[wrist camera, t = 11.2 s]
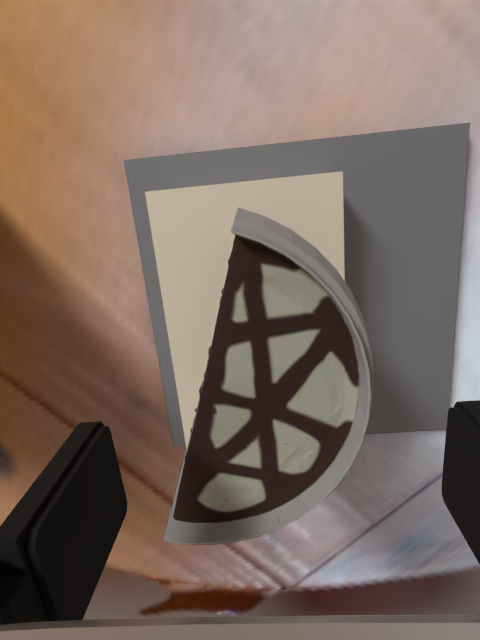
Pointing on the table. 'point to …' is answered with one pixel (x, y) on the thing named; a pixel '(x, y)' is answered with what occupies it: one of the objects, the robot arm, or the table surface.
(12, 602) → the robot arm
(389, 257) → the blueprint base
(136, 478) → the table surface
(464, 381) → the table surface
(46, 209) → the table surface
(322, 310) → the food container
